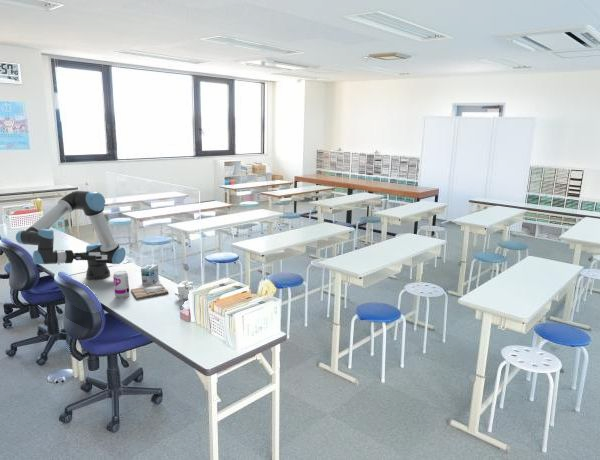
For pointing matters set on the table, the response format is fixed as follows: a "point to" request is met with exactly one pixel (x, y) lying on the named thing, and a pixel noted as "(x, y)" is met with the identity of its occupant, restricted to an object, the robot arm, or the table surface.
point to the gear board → (149, 291)
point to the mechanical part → (184, 289)
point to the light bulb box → (149, 274)
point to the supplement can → (121, 284)
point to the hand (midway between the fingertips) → (103, 255)
